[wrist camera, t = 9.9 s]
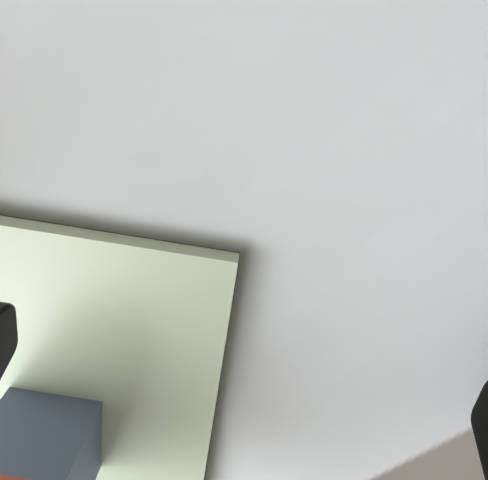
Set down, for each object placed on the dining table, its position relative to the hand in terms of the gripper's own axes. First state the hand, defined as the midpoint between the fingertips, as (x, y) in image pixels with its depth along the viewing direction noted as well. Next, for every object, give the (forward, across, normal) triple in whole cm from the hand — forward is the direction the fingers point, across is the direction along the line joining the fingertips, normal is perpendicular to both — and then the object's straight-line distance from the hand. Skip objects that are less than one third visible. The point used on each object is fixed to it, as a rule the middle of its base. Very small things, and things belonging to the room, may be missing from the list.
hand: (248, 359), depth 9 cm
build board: (+12, +7, +12) cm, 19 cm away
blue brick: (+12, +9, +16) cm, 22 cm away
